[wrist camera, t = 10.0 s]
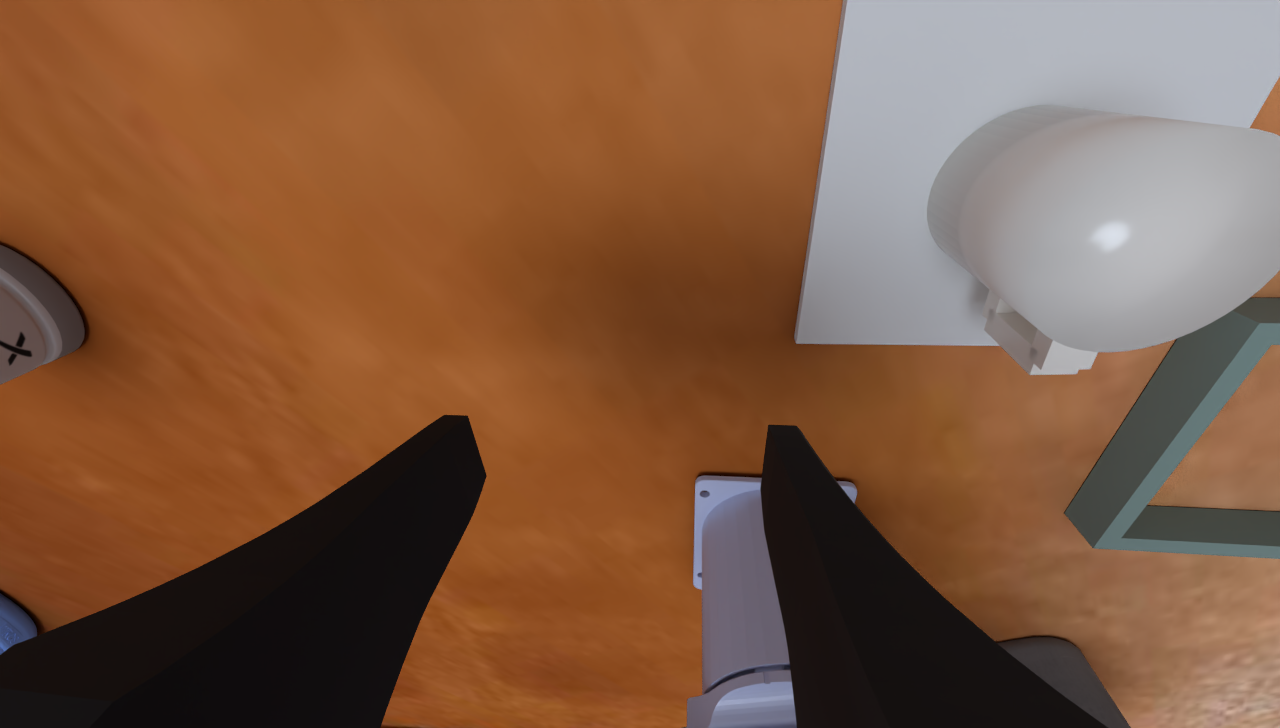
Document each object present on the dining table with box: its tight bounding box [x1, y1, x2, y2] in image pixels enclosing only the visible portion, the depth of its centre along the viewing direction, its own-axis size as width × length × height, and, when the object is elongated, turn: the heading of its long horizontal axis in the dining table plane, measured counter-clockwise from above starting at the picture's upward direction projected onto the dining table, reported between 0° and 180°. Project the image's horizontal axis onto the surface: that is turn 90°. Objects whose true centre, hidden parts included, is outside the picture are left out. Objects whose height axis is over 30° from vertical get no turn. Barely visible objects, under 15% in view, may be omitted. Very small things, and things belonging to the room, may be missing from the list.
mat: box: [794, 0, 1280, 346], centre depth 15 cm, size 12×12×1 cm
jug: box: [927, 105, 1280, 375], centre depth 13 cm, size 7×5×6 cm
